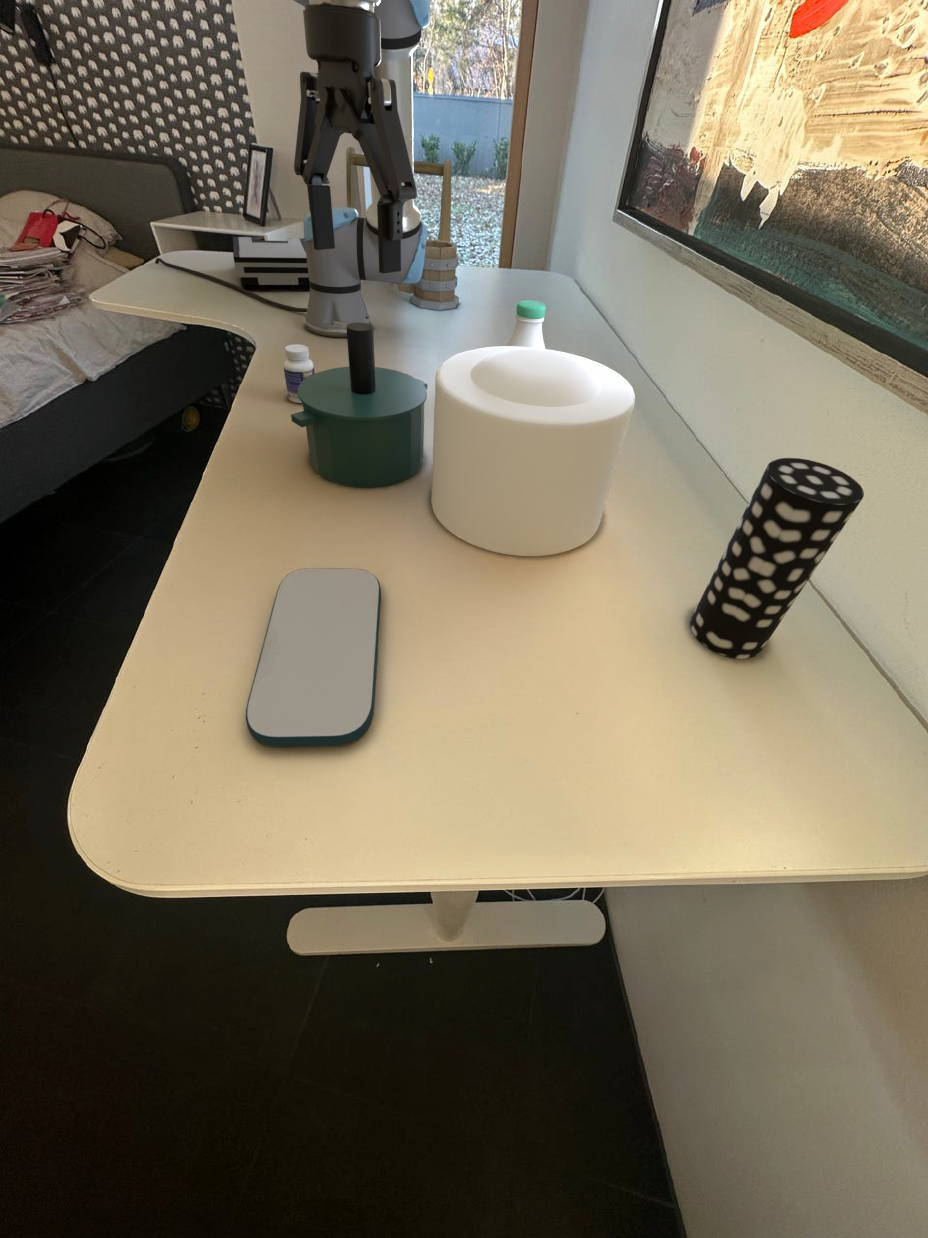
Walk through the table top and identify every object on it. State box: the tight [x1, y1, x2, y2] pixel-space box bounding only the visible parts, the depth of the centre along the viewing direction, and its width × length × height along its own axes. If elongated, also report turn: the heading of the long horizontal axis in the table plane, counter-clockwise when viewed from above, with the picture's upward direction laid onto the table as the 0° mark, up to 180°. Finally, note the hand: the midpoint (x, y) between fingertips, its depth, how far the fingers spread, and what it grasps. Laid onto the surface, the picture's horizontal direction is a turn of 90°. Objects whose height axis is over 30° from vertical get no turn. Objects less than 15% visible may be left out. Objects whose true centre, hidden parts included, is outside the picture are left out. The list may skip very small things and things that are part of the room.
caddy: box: [345, 146, 453, 285], centre depth 160 cm, size 29×11×30 cm, turn 77°
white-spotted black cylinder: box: [689, 457, 865, 660], centre depth 57 cm, size 8×8×20 cm
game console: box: [232, 236, 310, 291], centre depth 158 cm, size 21×32×8 cm, turn 17°
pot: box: [290, 378, 428, 489], centre depth 84 cm, size 18×23×10 cm
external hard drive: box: [245, 567, 382, 748], centre depth 57 cm, size 24×12×2 cm, turn 4°
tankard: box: [395, 239, 460, 311], centre depth 148 cm, size 20×13×15 cm, turn 80°
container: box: [430, 345, 636, 557], centre depth 74 cm, size 25×25×20 cm
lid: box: [298, 322, 428, 421], centre depth 77 cm, size 19×19×10 cm
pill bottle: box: [283, 343, 315, 404], centre depth 99 cm, size 5×5×9 cm
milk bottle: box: [505, 299, 547, 349], centre depth 93 cm, size 8×8×20 cm
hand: (355, 259), depth 68 cm, fingers open, 13 cm apart
